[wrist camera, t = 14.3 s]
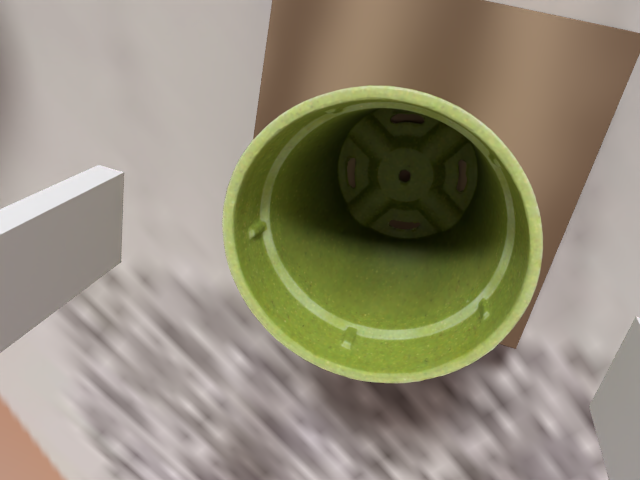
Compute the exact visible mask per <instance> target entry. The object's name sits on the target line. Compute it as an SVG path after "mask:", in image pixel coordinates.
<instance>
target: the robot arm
mask: <svg viewBox="0 0 640 480" xmlns="http://www.w3.org/2000/svg"><path fill="white" fill-rule="evenodd" d="M123 189H124V172H121V171H118V170H114V169H111V168H107V167H104V166H100V165H97V166H95V167H93V168H90V169H88V170H86V171H84V172H82V173H79V174H77V175H75V176H73V177H70V178H68V179H66V180H64V181H62V182H59V183H57V184H55V185H53V186H51V187H48V188H46V189H44V190H42V191H39V192H37V193H35V194H33V195H31V196H28V197H26V198H24V199H22V200H19V201H17V202H15V203H13V204H11V205H8V206H6V207H4V208H2V209H0V353H1V352H2V351H3V350H5V349H6V348H7V347H9V346H10V345H11V344H13V343H14V342H15V341H17V340H18V339H19V338H21V337H22V336H23V335H25V334H26V333H27V332H29V331H30V330H31V329H33V328H34V327H35V326H37V325H38V324H39V323H41V322H42V321H43V320H45V319H46V318H47V317H49V316H50V315H51V314H53V313H54V312H55V311H57V310H58V309H59V308H61V307H62V306H63V305H65V304H66V303H67V302H69V301H70V300H71V299H73V298H74V297H75V296H77V295H78V294H79V293H81V292H82V291H83V290H85V289H86V288H87V287H89V286H90V285H91V284H92V283H94V282H95V281H96V280H98V279H99V278H100V277H102V276H103V275H104V274H106V273H107V272H108V271H110V270H111V269H112V268H114V267H115V266H116V265H118V264H119V263H120V262H121V248H122V218H123ZM589 408H590V411H591V415H592V419H593V422H594V426H595V430H596V434H597V437H598V441H599V445H600V448H601V452H602V456H603V460H604V463H605V467H606V471H607V475H608V478H609V480H640V317H635V319H634V321H633V323H632V325H631V327H630V329H629V331H628V333H627V335H626V337H625V339H624V341H623V342H622V344H621V346H620V348H619V350H618V352H617V354H616V356H615V358H614V360H613V362H612V364H611V365H610V367H609V369H608V371H607V373H606V375H605V377H604V379H603V381H602V383H601V385H600V387H599V389H598V390H597V392H596V394H595V396H594V398H593V400H592V402H591V404H590V406H589Z"/></svg>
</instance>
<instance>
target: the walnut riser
mask: <svg viewBox="0 0 640 480" xmlns="http://www.w3.org/2000/svg"><path fill="white" fill-rule="evenodd" d="M639 54H640V33H636V32H632V31H628V30H623V29H618V28H614V27H609V26H604V25H599V24H594V23H590V22H585V21H580V20H575V19H571V18H566V17H561V16H556V15H551V14H547V13H542V12H537V11H532V10H528V9H523V8H518V7H513V6H509V5H504V4H499V3H494V2H489V1H485V0H272V7H271V14H270V21H269V29H268V36H267V43H266V50H265V58H264V65H263V72H262V79H261V87H260V94H259V101H258V108H257V116H256V123H255V130H254V137H253V139H254V138H255V137H256V136H257V135H258V134H259V133H260V132H261V131H262V130H263V129H264V128H265V127H266V126H267V125H268V124H270V123H271V122H272V121H273V120H275V119H276V118H277V117H278V116H280V115H281V114H283V113H284V112H286V111H287V110H289V109H291V108H292V107H294V106H296V105H298V104H300V103H302V102H304V101H306V100H309V99H311V98H314V97H316V96H319V95H323V94H326V93H329V92H333V91H336V90H341V89H346V88H351V87H359V86H368V85H373V86H395V87H401V88H408V89H413V90H417V91H421V92H424V93H428V94H431V95H433V96H436V97H439V98H442V99H444V100H446V101H448V102H450V103H452V104H455V105H457V106H459V107H460V108H462V109H464V110H465V111H467V112H468V113H470V114H471V115H473V116H475V117H476V118H477V119H479V120H480V121H481V122H482V123H484V124H485V125H486V126H487V127H488V128H490V129H491V130H492V131H493V132H494V133H495V134H496V135H497V136H498V137H499V138H500V139H501V140H502V142H503V143H504V144H505V145H506V146H507V147H508V148H509V150H510V151H511V152H512V153H513V155H514V156H515V158H516V159H517V161H518V162H519V164H520V166H521V167H522V169H523V171H524V173H525V174H526V176H527V178H528V180H529V182H530V184H531V187H532V189H533V192H534V194H535V197H536V201H537V205H538V208H539V212H540V217H541V223H542V232H543V253H542V262H541V269H540V274H539V279H538V282H537V286H536V289H535V291H534V294H533V296H532V299H531V301H530V303H529V305H528V307H527V309H526V310H525V312H524V314H523V315H522V317H521V318H520V320H519V321H518V322H517V324H516V325H515V326H514V328H513V329H512V330H511V331H510V332H509V334H508V335H507V336H506V337H505V338H504V339H503V340H502V341H501V342H500V343H499V344H501V345H505V346H508V347H511V348H515V349H516V347H517V345H518V342H519V340H520V337H521V335H522V333H523V330H524V328H525V326H526V323H527V321H528V318H529V316H530V314H531V311H532V309H533V306H534V304H535V302H536V299H537V297H538V295H539V292H540V290H541V287H542V285H543V283H544V280H545V278H546V275H547V273H548V271H549V268H550V266H551V264H552V261H553V259H554V256H555V254H556V252H557V249H558V247H559V244H560V242H561V240H562V237H563V235H564V232H565V230H566V228H567V225H568V223H569V221H570V218H571V216H572V213H573V211H574V209H575V206H576V204H577V201H578V199H579V197H580V194H581V192H582V190H583V187H584V185H585V182H586V180H587V178H588V175H589V173H590V170H591V168H592V166H593V163H594V161H595V159H596V156H597V154H598V151H599V149H600V147H601V144H602V142H603V139H604V137H605V135H606V132H607V130H608V128H609V125H610V123H611V120H612V118H613V116H614V113H615V111H616V108H617V106H618V104H619V101H620V99H621V97H622V94H623V92H624V89H625V87H626V85H627V82H628V80H629V77H630V75H631V73H632V70H633V68H634V66H635V63H636V61H637V58H638V56H639ZM390 121H391V122H392V123H399V122H412V123H418V124H422V123H424V119H423V118H422V116H419V115H416V114H399V113H398V114H396V115H394V116H393V117H392V118H391V120H390ZM355 162H356V160H355V158H351V159H350V161H348V166H347V173H348V174H347V175H348V182H349V185H350V186H352V187H353V188H355V187H356V185H355V180H354V179H355V175H354V172H355ZM458 166H459V178H458V185H457V188H456V189H457V190H458V191H459V192H460V191H463V190H464V189H465V186H466V183H467V177H466V162H465V161H463V160H460V161H459V162H458ZM410 175H411V174H410V172H408V171H407V170H403V171H401V172H400V174H399V178H400V180H401V181H403V182H407V181H408V180H410ZM389 224H390V225H391V226H392V227H394V228H398V229H412V228H416V227H418V226H419V225H420V223H413V222H410V223H409V222H402V221H396V220H391V221H390V223H389Z"/></svg>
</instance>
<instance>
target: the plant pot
mask: <svg viewBox="0 0 640 480" xmlns="http://www.w3.org/2000/svg"><path fill="white" fill-rule="evenodd" d="M398 113H399V114H416V115H419V116H422V118H423V119H424V123H422V124H418V123H412V122H399V123H392V122H391V121H390V120H391V118H392V117H393V116H394V115H396V114H398ZM351 158H355V160H356V162H355V172H354V175H355V179H354V180H355V185H356V187H355V188H353V187H352V186H350V185H349V182H348V175H347V174H348V173H347V166H348V161H350V159H351ZM460 160H463V161H465V162H466V177H467V183H466V186H465V189H464V190H463V191H460V192H459V191H458V190H457V189H456V188H457V185H458V178H459V166H458V162H459V161H460ZM403 170H407V171H408V172H410V174H411V175H410V180H408V181H407V182H403V181H401V180H400V178H399V174H400V172H401V171H403ZM391 220H396V221H402V222H409V223H410V222H413V223H420V225H419V226H418V227H416V228H412V229H398V228H394V227H392V226H391V225H390V224H389V223H390V221H391ZM222 227H223V240H224V248H225V254H226V259H227V262H228V265H229V269H230V272H231V275H232V277H233V279H234V281H235V284H236V286H237V288H238V290H239V292H240V294H241V296H242V297H243V299H244V301H245V302H246V305H247V306H248V307H249V309H250V310H251V312H252V313H253V314H254V315H255V316H256V318H257V319H258V321H259V322H260V323H261V324H262V325H263V326H264V328H265V329H266V330H267V331H268V332H270V334H271V335H272V336H274V337H275V338H276V339H277V340H278V341H279V342H280V343H281V344H283V345H284V346H285V347H286V348H288V349H289V350H291V351H292V352H294V353H295V354H297V355H298V356H300V357H301V358H303V359H304V360H306V361H308V362H310V363H312V364H314V365H315V366H317V367H320V368H322V369H325V370H327V371H329V372H332V373H334V374H338V375H341V376H344V377H347V378H351V379H355V380H359V381H366V382H378V383H412V382H418V381H423V380H426V379H432V378H435V377H439V376H444V375H447V374H450V373H452V372H455V371H457V370H459V369H461V368H464V367H466V366H468V365H470V364H472V363H473V362H475V361H477V360H478V359H480V358H481V357H483V356H484V355H486V354H487V353H489V352H490V351H491V350H493V349H494V348H495V347H496V346H497V345H498V344H499V343H500V342H501V341H502V340H503V339H504V338H505V337H506V336H507V335H508V334H509V332H510V331H511V330H512V329H513V328H514V326H515V325H516V324H517V322H518V321H519V320H520V318H521V317H522V315H523V314H524V312H525V310H526V309H527V307H528V305H529V303H530V301H531V299H532V296H533V294H534V291H535V289H536V286H537V282H538V279H539V274H540V269H541V262H542V253H543V232H542V223H541V217H540V212H539V208H538V205H537V201H536V197H535V194H534V192H533V189H532V187H531V184H530V182H529V180H528V178H527V176H526V174H525V173H524V171H523V169H522V167H521V166H520V164H519V162H518V161H517V159H516V158H515V156H514V155H513V153H512V152H511V151H510V150H509V148H508V147H507V146H506V145H505V144H504V143H503V142H502V140H501V139H500V138H499V137H498V136H497V135H496V134H495V133H494V132H493V131H492V130H491V129H490V128H488V127H487V126H486V125H485V124H484V123H482V122H481V121H480V120H479V119H477V118H476V117H475V116H473V115H471V114H470V113H468V112H467V111H465V110H464V109H462V108H460V107H459V106H457V105H455V104H452V103H450V102H448V101H446V100H444V99H442V98H439V97H436V96H433V95H431V94H428V93H424V92H421V91H417V90H413V89H408V88H401V87H395V86H373V85H368V86H359V87H351V88H346V89H341V90H336V91H333V92H329V93H326V94H323V95H319V96H316V97H314V98H311V99H309V100H306V101H304V102H302V103H300V104H298V105H296V106H294V107H292V108H291V109H289V110H287V111H286V112H284V113H283V114H281V115H280V116H278V117H277V118H276V119H275V120H273V121H272V122H271V123H270V124H268V125H267V126H266V127H265V128H264V129H263V130H262V131H261V132H260V133H259V134H258V135H257V136H256V137H255V138H254V139H253V141H252V142H251V143H250V145H249V146H248V147H247V149H246V150H245V151H244V153H243V154H242V156H241V158H240V160H239V161H238V163H237V165H236V167H235V169H234V171H233V174H232V176H231V179H230V182H229V185H228V188H227V192H226V197H225V202H224V207H223V218H222Z"/></svg>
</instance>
